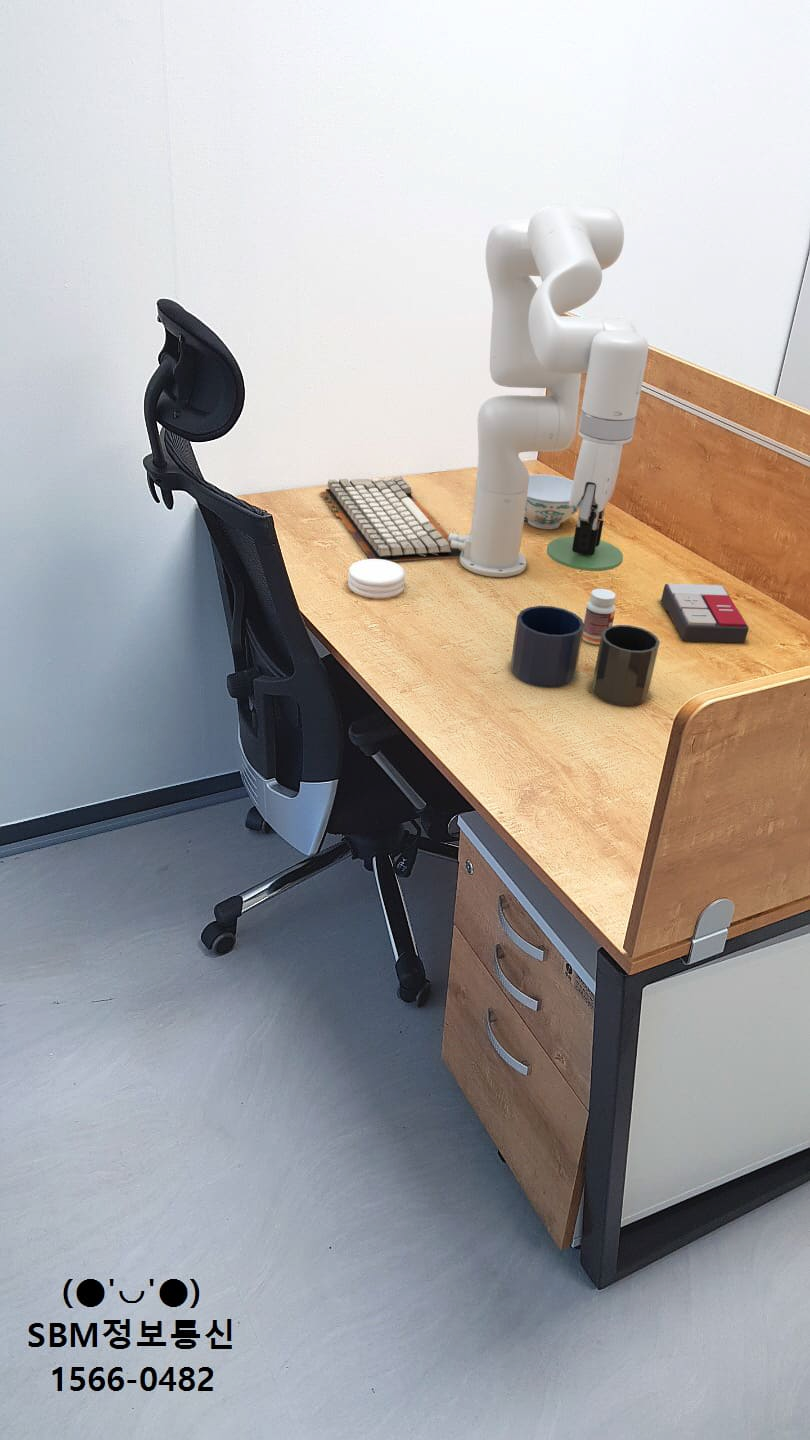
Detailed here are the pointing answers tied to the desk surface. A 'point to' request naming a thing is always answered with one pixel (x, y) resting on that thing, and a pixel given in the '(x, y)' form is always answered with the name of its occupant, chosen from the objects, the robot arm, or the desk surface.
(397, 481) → the mechanical keyboard
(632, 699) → the cup
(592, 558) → the lid
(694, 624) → the calculator
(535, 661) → the tin
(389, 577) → the white round stack
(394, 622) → the desk surface
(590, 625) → the pill bottle
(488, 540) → the robot arm
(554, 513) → the chinaware
